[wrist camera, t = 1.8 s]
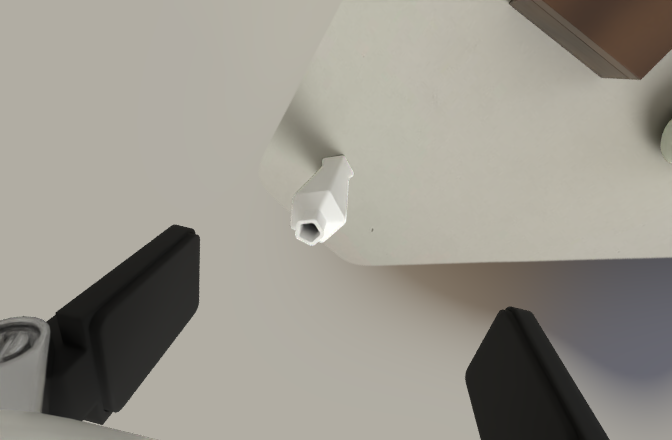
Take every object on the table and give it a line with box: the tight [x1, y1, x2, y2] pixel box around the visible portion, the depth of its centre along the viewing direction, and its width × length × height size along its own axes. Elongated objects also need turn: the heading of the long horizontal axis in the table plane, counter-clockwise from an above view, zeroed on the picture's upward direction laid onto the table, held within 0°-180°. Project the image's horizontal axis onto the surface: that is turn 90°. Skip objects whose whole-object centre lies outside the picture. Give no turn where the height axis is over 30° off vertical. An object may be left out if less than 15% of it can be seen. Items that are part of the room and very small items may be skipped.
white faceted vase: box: [290, 155, 354, 246], centre depth 30 cm, size 5×4×15 cm
